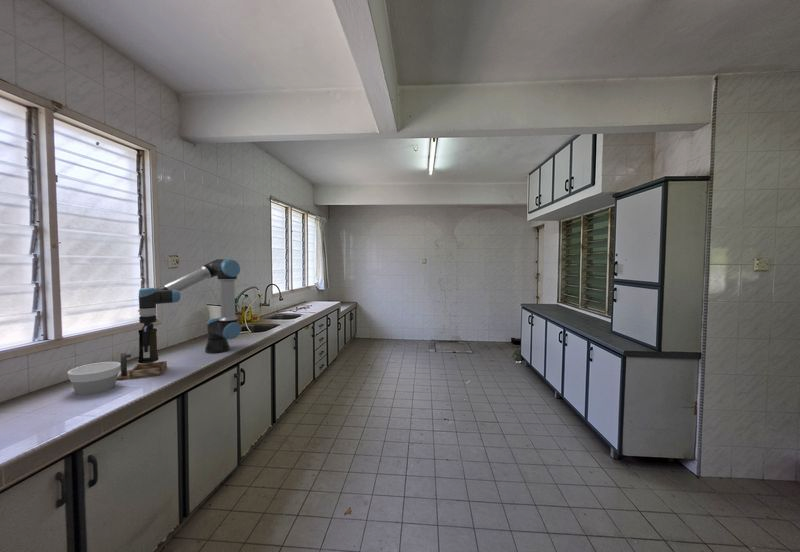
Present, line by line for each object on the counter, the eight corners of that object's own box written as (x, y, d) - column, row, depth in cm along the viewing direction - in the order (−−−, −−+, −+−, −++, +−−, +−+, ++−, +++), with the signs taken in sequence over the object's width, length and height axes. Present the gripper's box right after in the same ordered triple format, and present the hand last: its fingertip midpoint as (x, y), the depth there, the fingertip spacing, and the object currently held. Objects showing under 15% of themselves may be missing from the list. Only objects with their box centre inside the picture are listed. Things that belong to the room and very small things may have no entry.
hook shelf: (166, 367, 191) (166, 345, 191) (161, 375, 179) (161, 352, 178) (123, 372, 182) (123, 349, 182) (115, 380, 170) (114, 356, 169)
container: (162, 359, 186) (161, 328, 185) (148, 364, 177) (148, 331, 176) (148, 358, 187) (147, 327, 186) (133, 363, 178) (133, 331, 177)
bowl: (128, 386, 163) (127, 365, 162) (76, 400, 146) (75, 377, 146) (112, 379, 172) (112, 359, 172) (62, 391, 156) (61, 369, 155)
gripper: (144, 313, 188) (144, 351, 189) (134, 318, 170) (134, 361, 171) (159, 312, 191) (160, 350, 192) (151, 317, 173) (152, 359, 174)
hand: (148, 355), depth 181 cm, fingers closed on container, 8 cm apart
